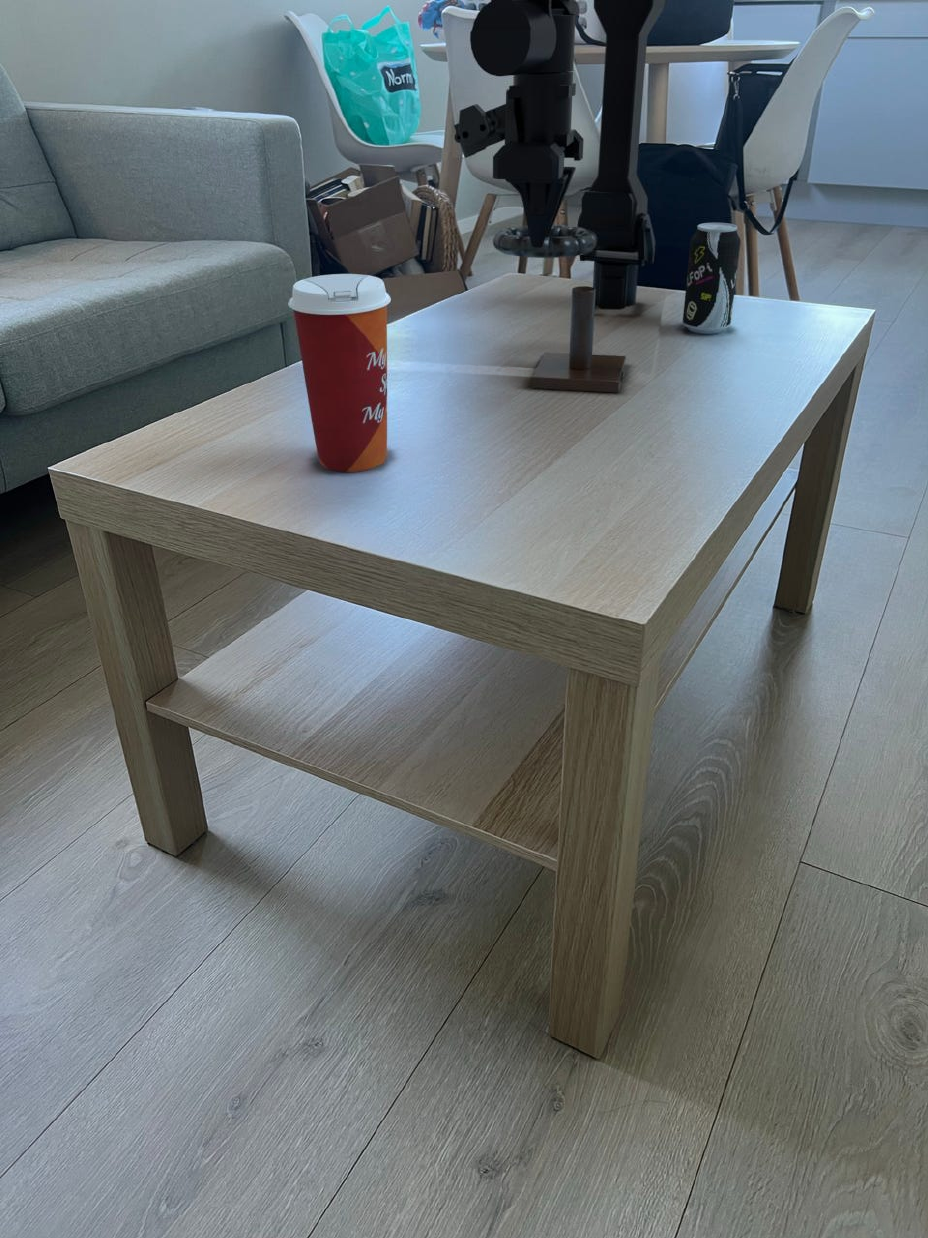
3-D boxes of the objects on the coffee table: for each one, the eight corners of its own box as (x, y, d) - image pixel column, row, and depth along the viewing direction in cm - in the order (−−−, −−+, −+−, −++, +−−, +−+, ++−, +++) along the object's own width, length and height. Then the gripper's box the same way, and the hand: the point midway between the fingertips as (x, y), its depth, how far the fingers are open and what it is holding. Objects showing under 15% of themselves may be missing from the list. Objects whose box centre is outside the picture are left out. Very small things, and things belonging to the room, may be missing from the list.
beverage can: (730, 336, 115) (743, 230, 108) (681, 334, 116) (692, 229, 110) (729, 324, 120) (742, 221, 113) (682, 322, 121) (692, 220, 114)
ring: (504, 241, 110) (505, 222, 109) (600, 244, 108) (602, 225, 107) (484, 257, 101) (484, 236, 100) (589, 260, 98) (590, 240, 97)
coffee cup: (406, 472, 82) (397, 291, 74) (309, 481, 80) (289, 298, 73) (392, 437, 89) (382, 268, 81) (302, 445, 87) (283, 274, 80)
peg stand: (544, 362, 107) (546, 277, 103) (625, 366, 106) (631, 280, 101) (531, 388, 100) (533, 297, 95) (618, 392, 98) (624, 301, 93)
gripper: (481, 69, 101) (482, 227, 109) (437, 76, 85) (441, 260, 94) (587, 68, 99) (580, 230, 107) (561, 76, 83) (554, 264, 91)
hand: (538, 244), depth 100 cm, fingers closed on ring, 2 cm apart
